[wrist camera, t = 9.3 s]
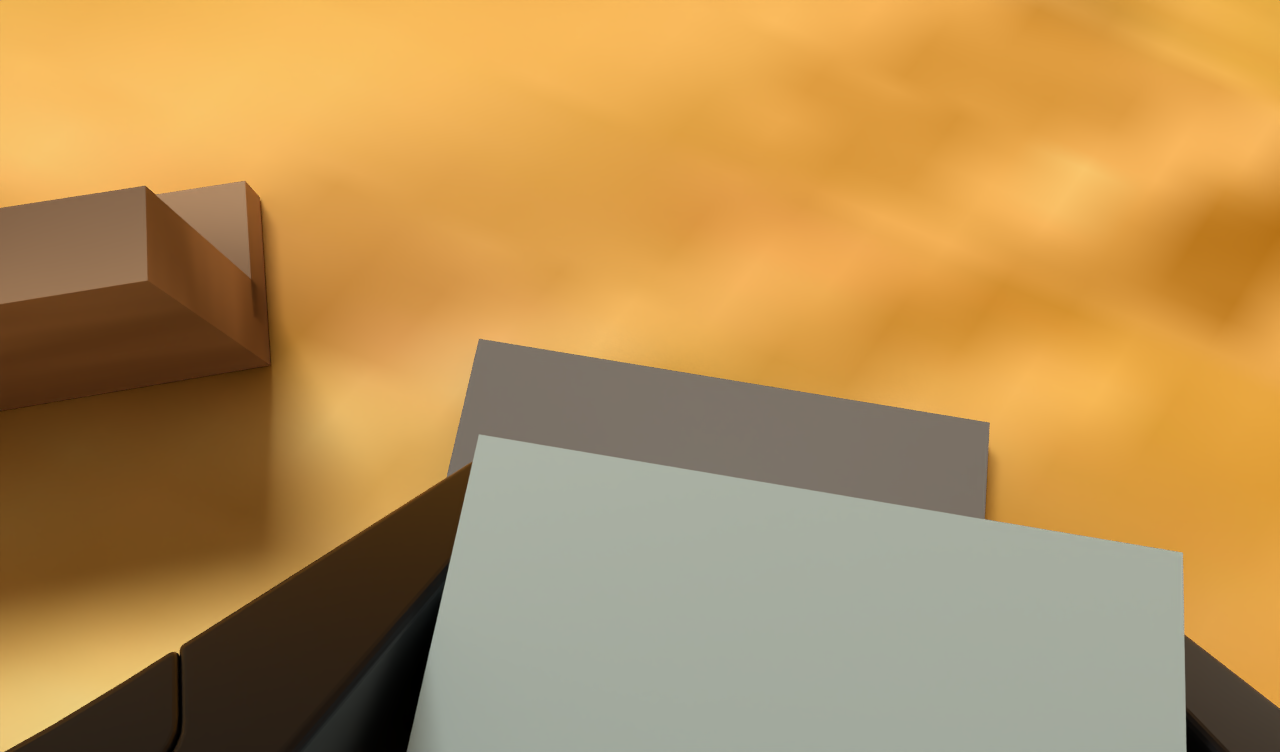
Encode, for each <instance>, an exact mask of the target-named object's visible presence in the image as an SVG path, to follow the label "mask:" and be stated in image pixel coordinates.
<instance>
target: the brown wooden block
mask: <svg viewBox="0 0 1280 752" xmlns="http://www.w3.org/2000/svg"><path fill="white" fill-rule="evenodd" d="M269 365H271V363H270V347H269V332H268V317H267V301H266V286H265V271H264V255H263V240H262V225H261V209H260V197H259V196H258V195H257V194H256V193H255V192H254V190H253V189H252V188H251V187H250V186H249V185H248V184H247V183H246V181H241V182H235V183H228V184H222V185H215V186H209V187H202V188H196V189H189V190H183V191H176V192H170V193H163V194H157V195H155V194H154V193H153V192H152V191H151V190H150V189H148V188H147V187H146V186H141V187H135V188H128V189H122V190H115V191H109V192H102V193H95V194H89V195H82V196H76V197H69V198H63V199H56V200H50V201H43V202H37V203H30V204H24V205H17V206H11V207H4V208H0V411H2V410H8V409H14V408H20V407H26V406H32V405H38V404H44V403H50V402H56V401H62V400H68V399H74V398H79V397H85V396H91V395H97V394H103V393H109V392H115V391H121V390H127V389H133V388H139V387H145V386H151V385H157V384H162V383H168V382H174V381H180V380H186V379H192V378H198V377H204V376H210V375H216V374H222V373H228V372H234V371H240V370H245V369H251V368H257V367H263V366H269Z"/></svg>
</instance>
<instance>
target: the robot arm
mask: <svg viewBox="0 0 1280 752" xmlns="http://www.w3.org/2000/svg"><path fill="white" fill-rule="evenodd" d="M472 463H473V461H472V462H471V463H469V464H467V465H466V466H464V467H463V468H461V469H460V470H458V471H456V472H455V473H453V474H452V475H450V476H448V477H447V478H445V479H444V480H442V481H441V482H439V483H437V484H436V485H434V486H433V487H431V488H430V489H428V490H426V491H425V492H423V493H422V494H420V495H419V496H417V497H415V498H414V499H412V500H411V501H409V502H407V503H406V504H404V505H403V506H401V507H400V508H398V509H396V510H395V511H393V512H392V513H390V514H389V515H387V516H385V517H384V518H382V519H381V520H379V521H378V522H376V523H374V524H373V525H371V526H370V527H368V528H366V529H365V530H363V531H362V532H360V533H359V534H357V535H355V536H354V537H352V538H351V539H349V540H348V541H346V542H344V543H343V544H341V545H340V546H338V547H336V548H335V549H333V550H332V551H330V552H329V553H327V554H325V555H324V556H322V557H321V558H319V559H318V560H316V561H314V562H313V563H311V564H310V565H308V566H307V567H305V568H303V569H302V570H300V571H299V572H297V573H295V574H294V575H292V576H291V577H289V578H288V579H286V580H284V581H283V582H281V583H280V584H278V585H277V586H275V587H273V588H272V589H270V590H269V591H267V592H266V593H264V594H262V595H261V596H259V597H258V598H256V599H254V600H253V601H251V602H250V603H248V604H247V605H245V606H243V607H242V608H240V609H239V610H237V611H236V612H234V613H232V614H231V615H229V616H228V617H226V618H225V619H223V620H221V621H220V622H218V623H217V624H215V625H213V626H212V627H210V628H209V629H207V630H206V631H204V632H202V633H201V634H199V635H198V636H196V637H195V638H193V639H191V640H190V641H188V642H187V643H185V644H184V645H182V646H181V648H180V656H179V654H178V653H176V652H171V653H169V654H167V655H166V656H164V657H162V658H161V659H159V660H158V661H156V662H154V663H153V664H151V665H150V666H148V667H147V668H145V669H143V670H142V671H140V672H139V673H137V674H136V675H134V676H132V677H131V678H129V679H128V680H126V681H124V682H123V683H121V684H119V685H118V686H116V687H114V688H113V689H111V690H110V691H108V692H106V693H105V694H103V695H101V696H100V697H98V698H96V699H95V700H93V701H91V702H90V703H88V704H86V705H85V706H83V707H81V708H80V709H78V710H77V711H75V712H73V713H72V714H70V715H68V716H67V717H65V718H63V719H62V720H60V721H58V722H57V723H55V724H53V725H52V726H50V727H48V728H46V729H45V730H43V731H41V732H39V733H37V734H36V735H34V736H32V737H30V738H28V739H27V740H25V741H23V742H21V743H19V744H18V745H16V746H14V747H12V748H10V749H9V750H7V751H5V752H407V749H408V744H409V740H410V735H411V731H412V727H413V722H414V718H415V713H416V709H417V705H418V700H419V696H420V691H421V687H422V683H423V678H424V674H425V669H426V665H427V661H428V656H429V652H430V647H431V643H432V639H433V634H434V630H435V625H436V621H437V617H438V612H439V608H440V604H441V599H442V595H443V590H444V586H445V582H446V577H447V573H448V568H449V564H450V560H451V555H452V551H453V546H454V542H455V538H456V533H457V529H458V524H459V520H460V516H461V511H462V507H463V502H464V498H465V494H466V489H467V485H468V480H469V476H470V472H471V467H472ZM1184 648H1185V701H1186V752H1280V708H1278V707H1277V706H1276V705H1274V704H1273V703H1272V702H1271V701H1269V700H1268V699H1267V698H1265V697H1264V696H1263V695H1262V694H1260V693H1259V692H1258V691H1256V690H1255V689H1254V688H1253V687H1251V686H1250V685H1249V684H1247V683H1246V682H1245V681H1244V680H1242V679H1241V678H1240V677H1238V676H1237V675H1236V674H1235V673H1233V672H1232V671H1231V670H1229V669H1228V668H1227V667H1226V666H1224V665H1223V664H1222V663H1220V662H1219V661H1218V660H1217V659H1215V658H1214V657H1213V656H1211V655H1210V654H1209V653H1208V652H1206V651H1205V650H1204V649H1202V648H1201V647H1200V646H1199V645H1197V644H1196V643H1195V642H1193V641H1192V640H1191V639H1190V638H1188V637H1187V636H1186V635H1184Z"/></svg>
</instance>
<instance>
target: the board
mask: <svg viewBox="0 0 1280 752" xmlns="http://www.w3.org/2000/svg"><path fill="white" fill-rule="evenodd" d="M407 752H1186V701H1185V648H1184V594H1183V553H1181V552H1175V551H1170V550H1164V549H1158V548H1152V547H1146V546H1140V545H1134V544H1128V543H1122V542H1116V541H1110V540H1104V539H1098V538H1092V537H1086V536H1080V535H1074V534H1068V533H1063V532H1057V531H1051V530H1045V529H1039V528H1033V527H1027V526H1021V525H1015V524H1009V523H1003V522H997V521H991V520H985V519H979V518H973V517H967V516H961V515H956V514H950V513H944V512H938V511H932V510H926V509H920V508H914V507H908V506H902V505H896V504H890V503H884V502H878V501H872V500H866V499H860V498H854V497H849V496H843V495H837V494H831V493H825V492H819V491H813V490H807V489H801V488H795V487H789V486H783V485H777V484H771V483H765V482H759V481H753V480H747V479H741V478H736V477H730V476H724V475H718V474H712V473H706V472H700V471H694V470H688V469H682V468H676V467H670V466H664V465H658V464H652V463H646V462H640V461H634V460H629V459H623V458H617V457H611V456H605V455H599V454H593V453H587V452H581V451H575V450H569V449H563V448H557V447H551V446H545V445H539V444H533V443H527V442H522V441H516V440H510V439H504V438H498V437H492V436H486V435H480V434H479V436H478V441H477V445H476V450H475V454H474V458H473V463H472V467H471V472H470V476H469V480H468V485H467V489H466V494H465V498H464V502H463V507H462V511H461V516H460V520H459V524H458V529H457V533H456V538H455V542H454V546H453V551H452V555H451V560H450V564H449V568H448V573H447V577H446V582H445V586H444V590H443V595H442V599H441V604H440V608H439V612H438V617H437V621H436V625H435V630H434V634H433V639H432V643H431V647H430V652H429V656H428V661H427V665H426V669H425V674H424V678H423V683H422V687H421V691H420V696H419V700H418V705H417V709H416V713H415V718H414V722H413V727H412V731H411V735H410V740H409V744H408V749H407Z"/></svg>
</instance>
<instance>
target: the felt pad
mask: <svg viewBox="0 0 1280 752" xmlns="http://www.w3.org/2000/svg"><path fill="white" fill-rule="evenodd" d="M989 424H990V423H988V422H982V421H976V420H970V419H964V418H958V417H952V416H946V415H940V414H933V413H927V412H921V411H915V410H909V409H903V408H897V407H891V406H885V405H879V404H873V403H867V402H860V401H854V400H848V399H842V398H836V397H830V396H824V395H818V394H812V393H806V392H800V391H793V390H787V389H781V388H775V387H769V386H763V385H757V384H751V383H745V382H739V381H733V380H726V379H720V378H714V377H708V376H702V375H696V374H690V373H684V372H678V371H672V370H666V369H660V368H653V367H647V366H641V365H635V364H629V363H623V362H617V361H611V360H605V359H599V358H593V357H586V356H580V355H574V354H568V353H562V352H556V351H550V350H544V349H538V348H532V347H526V346H519V345H513V344H507V343H501V342H495V341H489V340H483V339H479V341H478V346H477V350H476V354H475V358H474V363H473V367H472V371H471V376H470V380H469V384H468V388H467V393H466V397H465V401H464V406H463V410H462V414H461V418H460V423H459V427H458V431H457V435H456V440H455V444H454V448H453V453H452V457H451V461H450V465H449V470H448V474H447V477H448V476H450V475H452V474H453V473H455V472H456V471H458V470H460V469H461V468H463V467H464V466H466V465H467V464H469V463H471V462H472V461H473V458H474V454H475V450H476V445H477V441H478V436H479V434H480V435H486V436H492V437H498V438H504V439H510V440H516V441H522V442H527V443H533V444H539V445H545V446H551V447H557V448H563V449H569V450H575V451H581V452H587V453H593V454H599V455H605V456H611V457H617V458H623V459H629V460H634V461H640V462H646V463H652V464H658V465H664V466H670V467H676V468H682V469H688V470H694V471H700V472H706V473H712V474H718V475H724V476H730V477H736V478H741V479H747V480H753V481H759V482H765V483H771V484H777V485H783V486H789V487H795V488H801V489H807V490H813V491H819V492H825V493H831V494H837V495H843V496H849V497H854V498H860V499H866V500H872V501H878V502H884V503H890V504H896V505H902V506H908V507H914V508H920V509H926V510H932V511H938V512H944V513H950V514H956V515H961V516H967V517H973V518H979V519H985V504H986V484H987V464H988V444H989Z"/></svg>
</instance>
